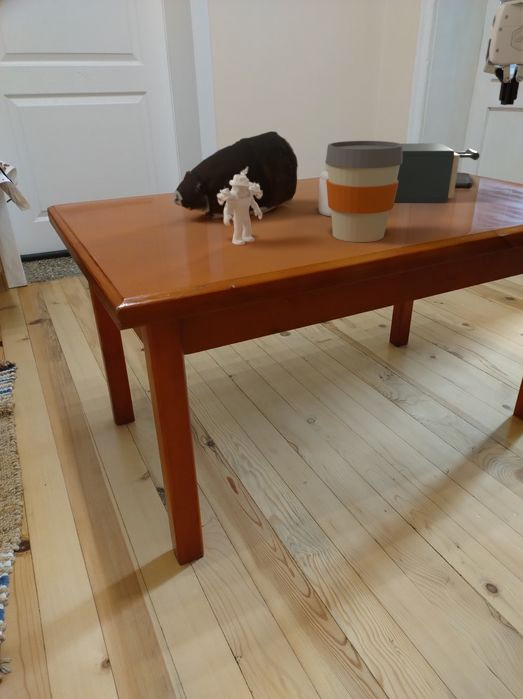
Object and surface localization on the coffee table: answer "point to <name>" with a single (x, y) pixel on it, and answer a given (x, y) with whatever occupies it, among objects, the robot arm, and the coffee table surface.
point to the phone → (463, 180)
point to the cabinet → (424, 173)
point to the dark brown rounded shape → (218, 169)
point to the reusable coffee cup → (362, 187)
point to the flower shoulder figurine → (240, 206)
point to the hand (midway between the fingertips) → (506, 104)
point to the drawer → (457, 155)
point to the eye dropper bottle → (323, 193)
